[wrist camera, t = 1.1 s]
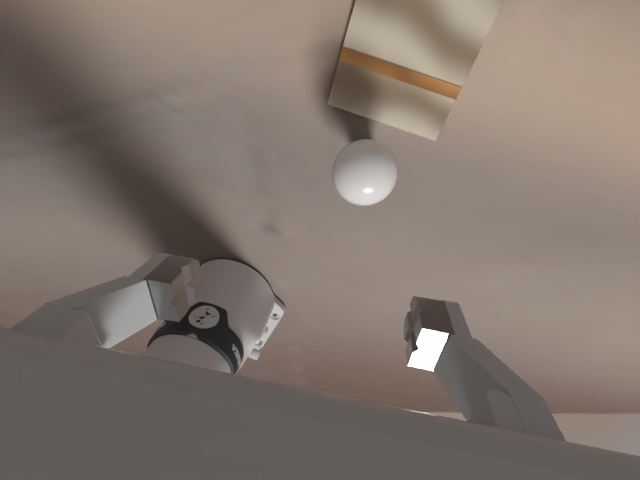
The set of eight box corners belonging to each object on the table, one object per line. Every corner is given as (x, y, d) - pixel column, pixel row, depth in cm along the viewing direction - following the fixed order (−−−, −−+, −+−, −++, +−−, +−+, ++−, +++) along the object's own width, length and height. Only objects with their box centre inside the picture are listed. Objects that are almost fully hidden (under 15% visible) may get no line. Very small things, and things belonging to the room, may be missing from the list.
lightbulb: (396, 130, 33) (409, 152, 24) (385, 182, 36) (392, 220, 27) (342, 123, 34) (333, 142, 24) (335, 176, 37) (325, 211, 27)
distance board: (434, 140, 33) (435, 141, 33) (327, 104, 33) (326, 104, 32) (546, -92, 23) (551, -96, 23) (396, -146, 23) (396, -152, 22)
